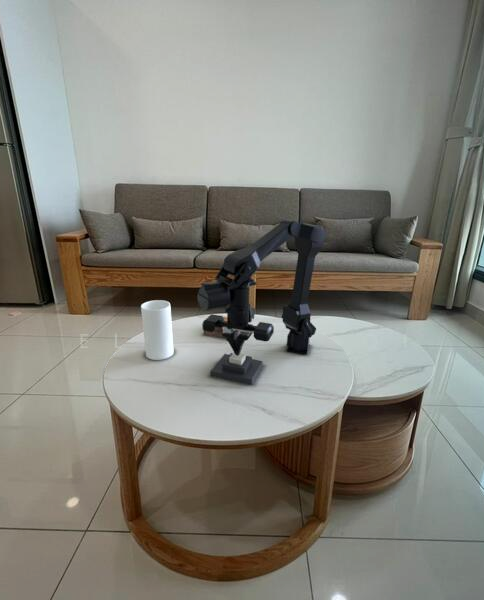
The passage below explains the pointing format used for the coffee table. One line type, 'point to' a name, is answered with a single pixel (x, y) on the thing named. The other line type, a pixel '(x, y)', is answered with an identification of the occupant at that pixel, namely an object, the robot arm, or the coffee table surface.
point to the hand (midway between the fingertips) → (237, 354)
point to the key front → (237, 359)
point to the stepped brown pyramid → (216, 333)
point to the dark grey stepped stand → (237, 370)
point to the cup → (157, 329)
